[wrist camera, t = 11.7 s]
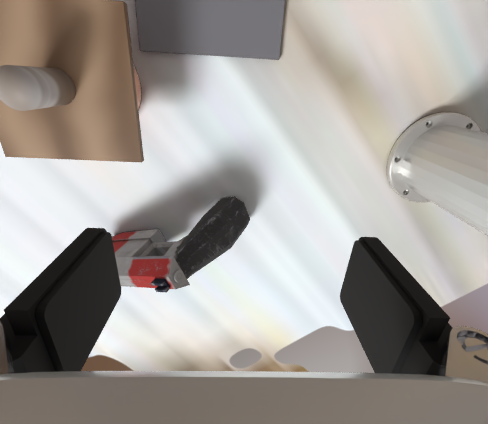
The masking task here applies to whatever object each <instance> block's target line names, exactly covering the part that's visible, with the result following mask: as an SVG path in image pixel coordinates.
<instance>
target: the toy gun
mask: <svg viewBox="0 0 488 424" xmlns="http://www.w3.org/2000/svg"><path fill="white" fill-rule="evenodd" d="M249 221H250V217H249V215H248V212H247V210H246V207H245V205H244V203H243V202H242V201H240V200H239V199H237V198H236V197H235V196H234V197H228V198H222V199H221V200H219V201H218V202H217V203H216V204H215V205H214V206H213V207H212V208H211V209H210V210H209V211H208V212H207V213H206V214H205V215H204V216H203V217H202V218H201V220H200V221H199V222H198V223H197V225H196V226H195V227H194V228H193V230H192V231H191V232H190V233H189V235H188V236H186V237H184V238H183V239H181V240H179V241H177V242H166V240H165V238H164V237H163V235H162V233H161V231H160V230H159V229H153V230H143V231H132V232H123V233H120V234H117V235H115V236H113V237H112V241H113V247H114V252H115V258H116V263H117V268H118V274H119V279H120V284H121V286H129V287H147V288H156V289H155V290H156V292H167V291H168V290H169V289H178V288H181V287H184V286H188V285H190V284H189V282H188V280H187V279H188V278H189V277H190V276H191V275H192V274H194V273H195V272H197V271H198V270H200V269H201V268H203V267H204V266H206V265H207V264H208V263H210V262H211V261H213V260H214V259H216V258H217V257H219V256H220V255H221V254H223V253H224V252H226V251H227V250H229V249H230V248H231V247H232V246H233V244H234V243H235V242H236V240H237V239H238V238H239V236H240V235H241V234H242V232H243V231H244V229H245V228H246V227H247V225H248V223H249Z"/></svg>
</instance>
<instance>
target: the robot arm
mask: <svg viewBox="0 0 488 424" xmlns="http://www.w3.org/2000/svg"><path fill="white" fill-rule="evenodd" d="M387 177H388V180H389V183H390V185H391V187H392V189H393V190H394V191H395V192H396V193H397V194H399V195H400V196H401V197H403V198H405V199H407V200H409V201H413V202H433V203H434V204H436V205H438V206H439V207H441V208H443V209H444V210H446V211H448V212H449V213H451V214H453V215H454V216H456V217H457V218H459V219H461V220H462V221H464V222H466V223H467V224H469V225H471V226H472V227H474V228H475V229H477V230H479V231H480V232H482V233H484V234H485V235H487V236H488V133H485V132H481V131H480V128H479V127H478V125H477V124H476V122H475V121H473V120H472V119H471V118H470V117H467V116H465V115H463V114H459V113H453V112H442V113H435V114H432V115H429V116H426V117H424V118H422V119H420V120H419V121H417V122H415V123H414V124H413V125H411V126H410V127H409V128H408V129H407V130H406V131H405V132H404V133H403V134H402V135H401V136H400V137H399V139H398V140H397V141H396V143H395V144H394V146H393V148H392V150H391V152H390V155H389V158H388V163H387ZM120 295H121V284H120V279H119V274H118V268H117V263H116V258H115V252H114V247H113V241H112V236H111V234H110V233H109V232H107V231H106V230H105V229H104V228H87V229H85V230H84V231H83V232H82V233H81V234H80V235H79V236H78V237H77V238H76V239H75V240H74V241H73V242H72V243H71V244H70V245H69V246H68V247H67V248H66V249H65V250H64V251H63V252H62V253H61V254H60V255H59V256H58V257H57V258H56V259H55V260H54V261H53V262H52V263H51V264H50V265H49V266H48V267H47V268H46V269H45V270H44V271H43V272H42V273H41V274H40V275H39V276H38V277H37V278H36V279H35V280H34V281H33V282H32V283H31V284H30V285H29V286H28V287H27V288H26V289H25V290H24V291H23V292H22V293H21V294H20V295H19V296H18V297H17V298H16V299H15V300H14V301H13V302H12V303H11V304H10V305H8V306H7V307H6V308H5V309H4V312H5V314H4V315H3V316H2V317H1V318H0V424H488V334H487V333H485V332H483V331H481V330H478V329H475V328H472V327H467V326H456V327H454V328H452V327H451V326H450V325H449V323H448V321H449V319H450V317H449V316H448V315H447V314H446V313H445V312H444V311H443V310H442V309H441V307H440V306H439V305H438V304H437V303H436V302H435V301H434V300H433V299H432V297H431V296H430V295H429V294H428V293H427V292H426V291H425V290H424V289H423V288H422V286H421V285H420V284H419V283H418V282H417V281H416V280H415V279H414V278H413V276H412V275H411V274H410V273H409V272H408V271H407V270H406V269H405V268H404V267H403V265H402V264H401V263H400V262H399V261H398V260H397V259H396V258H395V257H394V256H393V254H392V253H391V252H390V251H389V250H388V249H387V248H386V247H385V246H384V244H383V243H382V242H381V241H380V240H379V239H378V238H376V237H361V238H360V239H359V240H357V241H355V242H354V245H353V249H352V253H351V256H350V260H349V264H348V267H347V271H346V274H345V278H344V282H343V285H342V289H341V293H340V299H341V303H342V305H343V307H344V309H345V311H346V313H347V315H348V318H349V320H350V322H351V324H352V326H353V328H354V330H355V332H356V334H357V336H358V338H359V341H360V343H361V345H362V347H363V349H364V351H365V353H366V355H367V357H368V359H369V361H370V364H371V366H372V368H373V370H374V372H375V373H335V372H334V373H333V372H244V371H81V369H82V367H83V366H84V364H85V362H86V360H87V358H88V356H89V354H90V352H91V351H92V349H93V347H94V345H95V343H96V341H97V339H98V337H99V336H100V334H101V332H102V330H103V328H104V326H105V324H106V322H107V321H108V319H109V317H110V315H111V313H112V311H113V309H114V307H115V306H116V304H117V302H118V300H119V298H120Z"/></svg>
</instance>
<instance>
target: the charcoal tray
mask: <svg viewBox="0 0 488 424" xmlns="http://www.w3.org/2000/svg"><path fill="white" fill-rule="evenodd" d="M135 5H136V15H137V25H138V35H139V45H140V51H151V52H166V53H182V54H197V55H212V56H228V57H243V58H259V59H274V60H279V57H280V46H281V36H282V26H283V15H284V5H285V0H135Z"/></svg>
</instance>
